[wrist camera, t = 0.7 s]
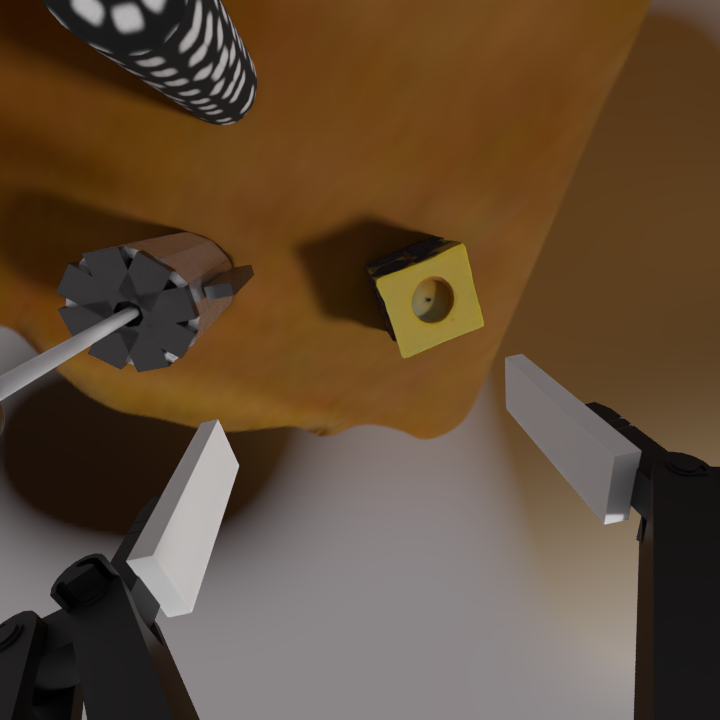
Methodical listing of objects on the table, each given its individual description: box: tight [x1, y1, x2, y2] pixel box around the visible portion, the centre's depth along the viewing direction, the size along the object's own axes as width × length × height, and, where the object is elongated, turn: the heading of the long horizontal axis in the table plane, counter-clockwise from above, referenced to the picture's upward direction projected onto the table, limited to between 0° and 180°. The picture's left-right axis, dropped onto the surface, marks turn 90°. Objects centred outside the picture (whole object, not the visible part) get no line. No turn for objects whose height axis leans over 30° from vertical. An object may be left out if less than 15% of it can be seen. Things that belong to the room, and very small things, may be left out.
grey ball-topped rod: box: [0, 261, 189, 435], centre depth 24 cm, size 8×8×24 cm
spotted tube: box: [42, 0, 257, 125], centre depth 27 cm, size 8×8×20 cm
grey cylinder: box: [56, 232, 254, 372], centre depth 37 cm, size 10×13×16 cm
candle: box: [365, 236, 484, 359], centre depth 43 cm, size 10×10×10 cm
